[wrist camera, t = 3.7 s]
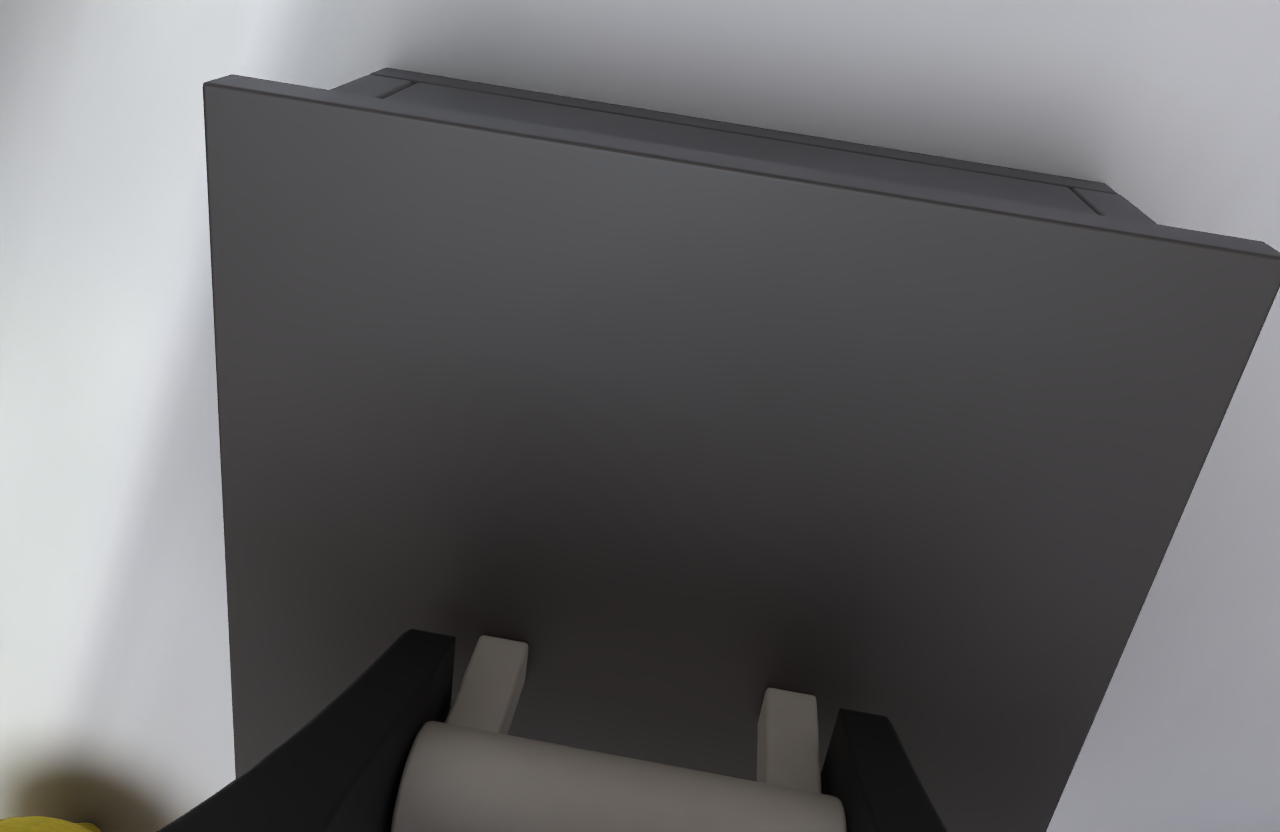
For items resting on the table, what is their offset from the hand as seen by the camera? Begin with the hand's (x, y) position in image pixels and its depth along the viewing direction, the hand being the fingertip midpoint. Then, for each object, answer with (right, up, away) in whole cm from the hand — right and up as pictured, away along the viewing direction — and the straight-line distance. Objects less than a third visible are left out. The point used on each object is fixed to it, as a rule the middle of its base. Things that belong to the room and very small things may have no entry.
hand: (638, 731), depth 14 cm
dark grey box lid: (0, +2, +1) cm, 2 cm away
